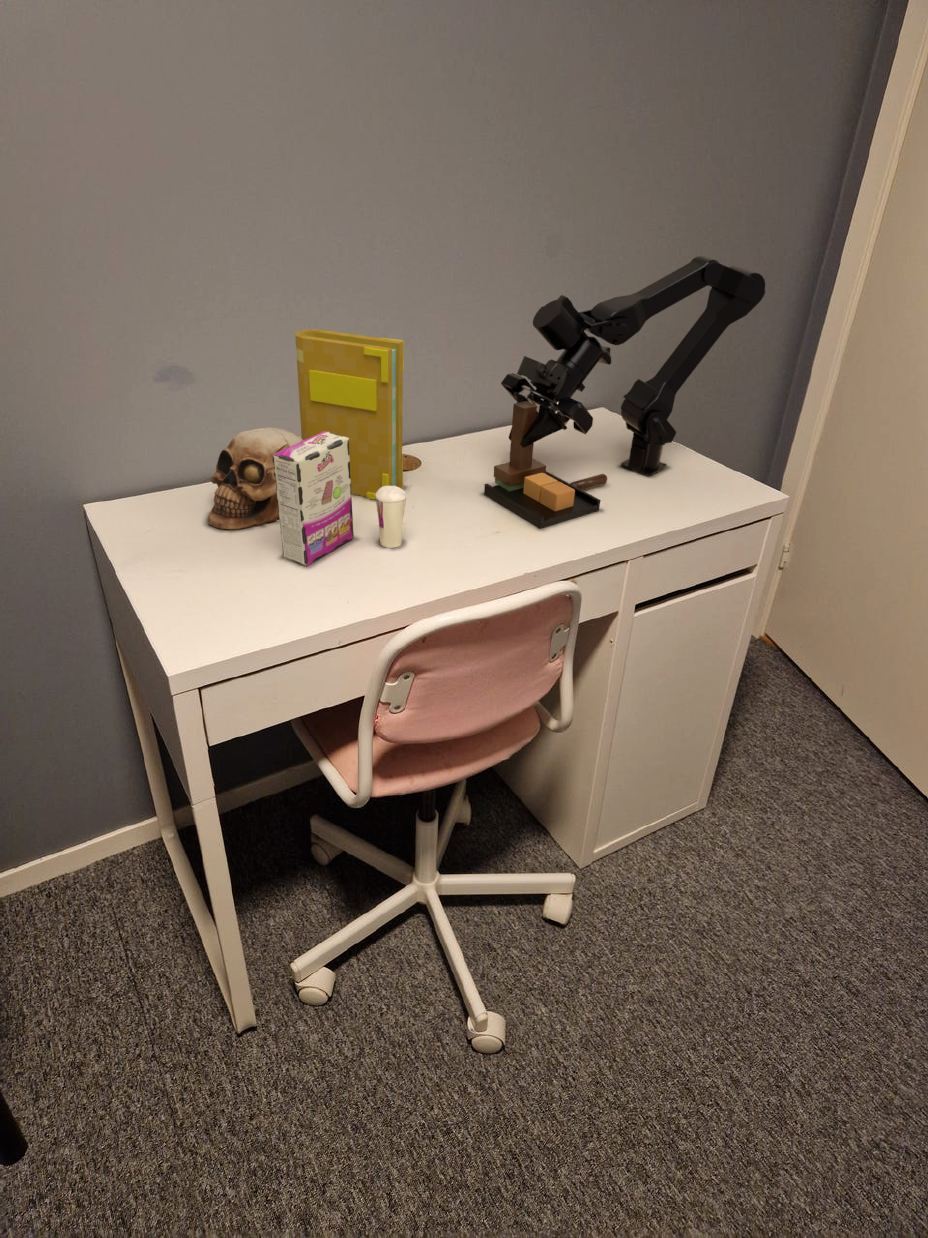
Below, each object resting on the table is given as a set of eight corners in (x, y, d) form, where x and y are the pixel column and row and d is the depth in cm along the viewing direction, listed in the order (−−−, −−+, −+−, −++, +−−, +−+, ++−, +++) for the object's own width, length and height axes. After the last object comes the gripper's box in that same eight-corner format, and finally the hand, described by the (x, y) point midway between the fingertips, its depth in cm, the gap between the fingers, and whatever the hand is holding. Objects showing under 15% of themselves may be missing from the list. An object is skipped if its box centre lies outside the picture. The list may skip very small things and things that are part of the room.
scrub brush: (528, 473, 152) (535, 396, 144) (544, 482, 149) (552, 404, 141) (492, 482, 148) (497, 404, 140) (508, 492, 145) (514, 412, 137)
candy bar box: (329, 530, 133) (324, 429, 124) (354, 538, 131) (351, 437, 122) (280, 557, 125) (271, 452, 116) (306, 567, 123) (299, 461, 114)
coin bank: (202, 528, 131) (197, 443, 125) (225, 492, 146) (221, 415, 140) (305, 534, 132) (305, 449, 126) (317, 498, 148) (317, 421, 142)
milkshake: (406, 552, 128) (407, 491, 122) (372, 548, 129) (371, 486, 123) (414, 539, 132) (415, 479, 126) (380, 534, 132) (380, 474, 127)
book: (403, 486, 148) (404, 340, 134) (387, 502, 142) (387, 351, 129) (315, 470, 152) (307, 326, 138) (297, 484, 147) (287, 336, 133)
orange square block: (557, 497, 144) (559, 481, 142) (573, 506, 141) (575, 489, 140) (539, 502, 142) (541, 486, 140) (555, 511, 139) (557, 494, 138)
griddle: (576, 469, 158) (578, 459, 156) (635, 499, 148) (637, 488, 147) (483, 494, 147) (484, 483, 145) (540, 528, 137) (541, 517, 135)
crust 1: (540, 488, 147) (542, 472, 145) (556, 496, 144) (558, 480, 143) (523, 493, 145) (524, 476, 143) (538, 502, 142) (539, 485, 141)
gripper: (513, 324, 143) (457, 399, 144) (588, 352, 131) (527, 434, 131) (544, 364, 152) (492, 435, 152) (618, 394, 139) (560, 471, 140)
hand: (515, 442), depth 144 cm, fingers closed on scrub brush, 3 cm apart
